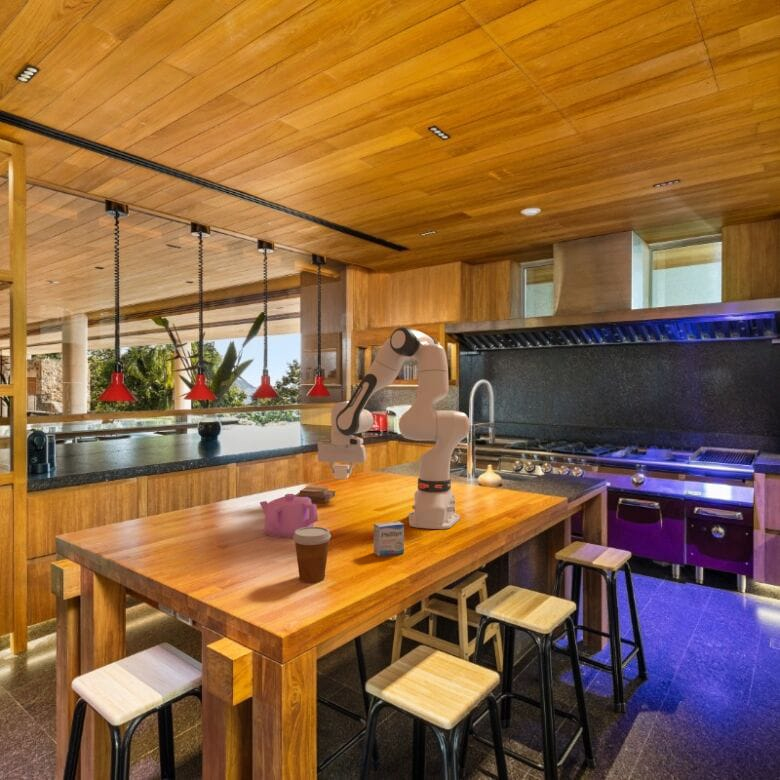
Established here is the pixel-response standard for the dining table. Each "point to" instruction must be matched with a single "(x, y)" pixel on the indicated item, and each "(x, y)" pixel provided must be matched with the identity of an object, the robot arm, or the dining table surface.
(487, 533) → the dining table surface
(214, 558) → the dining table surface
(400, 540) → the medicine box
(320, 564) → the disposable coffee cup
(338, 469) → the cream block
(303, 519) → the teakettle
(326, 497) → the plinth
